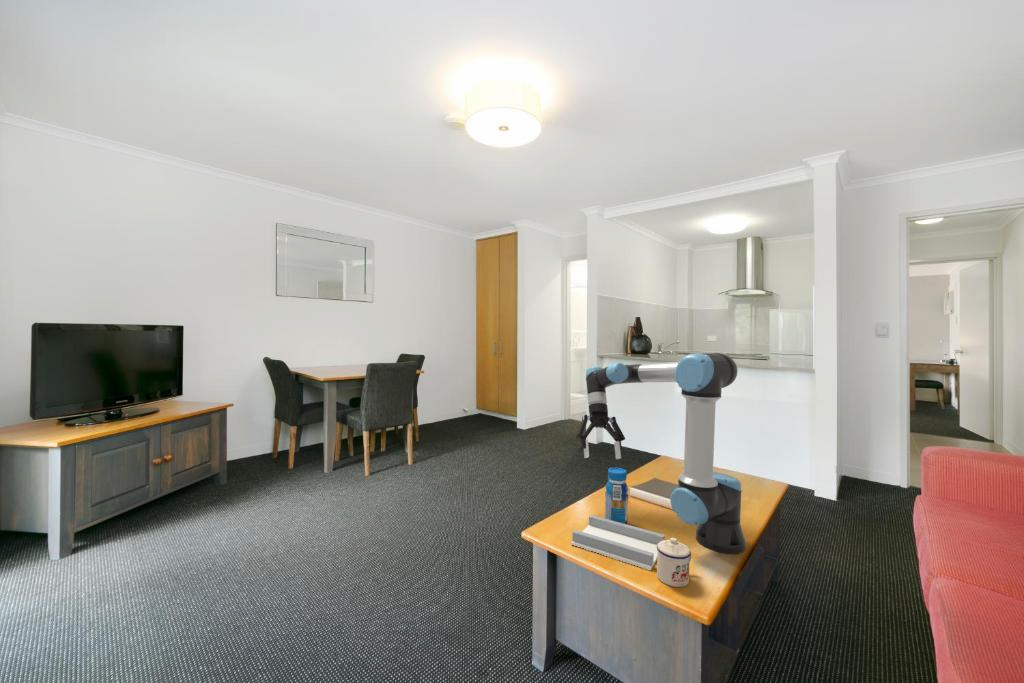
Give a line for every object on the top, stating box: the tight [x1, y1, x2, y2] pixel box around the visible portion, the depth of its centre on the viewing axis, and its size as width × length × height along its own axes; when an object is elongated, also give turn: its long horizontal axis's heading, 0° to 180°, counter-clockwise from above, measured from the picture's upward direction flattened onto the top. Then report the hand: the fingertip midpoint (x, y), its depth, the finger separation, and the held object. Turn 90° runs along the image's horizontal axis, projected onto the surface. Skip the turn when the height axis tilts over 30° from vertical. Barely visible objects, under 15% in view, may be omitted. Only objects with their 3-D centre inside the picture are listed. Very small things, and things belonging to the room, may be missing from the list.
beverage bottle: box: [604, 467, 629, 525], centre depth 155 cm, size 8×8×20 cm
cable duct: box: [570, 514, 666, 572], centre depth 139 cm, size 26×18×4 cm
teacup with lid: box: [656, 537, 692, 588], centre depth 121 cm, size 12×9×12 cm
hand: (602, 458), depth 161 cm, fingers open, 13 cm apart
